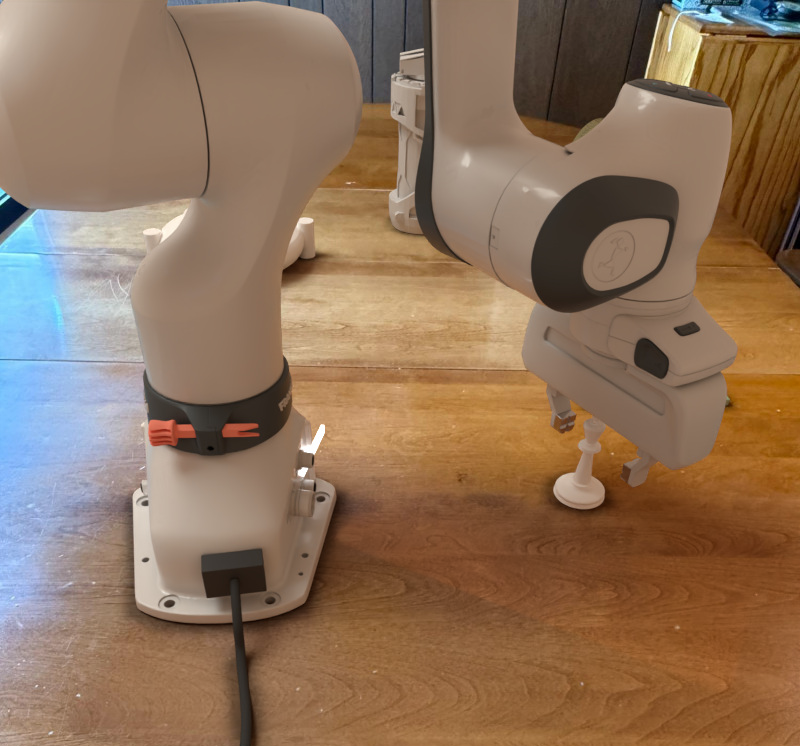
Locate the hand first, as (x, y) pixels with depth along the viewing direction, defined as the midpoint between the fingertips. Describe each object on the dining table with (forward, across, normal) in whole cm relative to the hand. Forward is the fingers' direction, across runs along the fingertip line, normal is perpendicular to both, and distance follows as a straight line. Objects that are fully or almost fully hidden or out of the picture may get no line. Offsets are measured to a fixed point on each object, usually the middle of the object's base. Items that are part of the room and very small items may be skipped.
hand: (595, 453), depth 71 cm
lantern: (+5, -67, +26) cm, 72 cm away
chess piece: (+6, -1, 0) cm, 6 cm away
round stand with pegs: (+5, -68, -8) cm, 68 cm away
